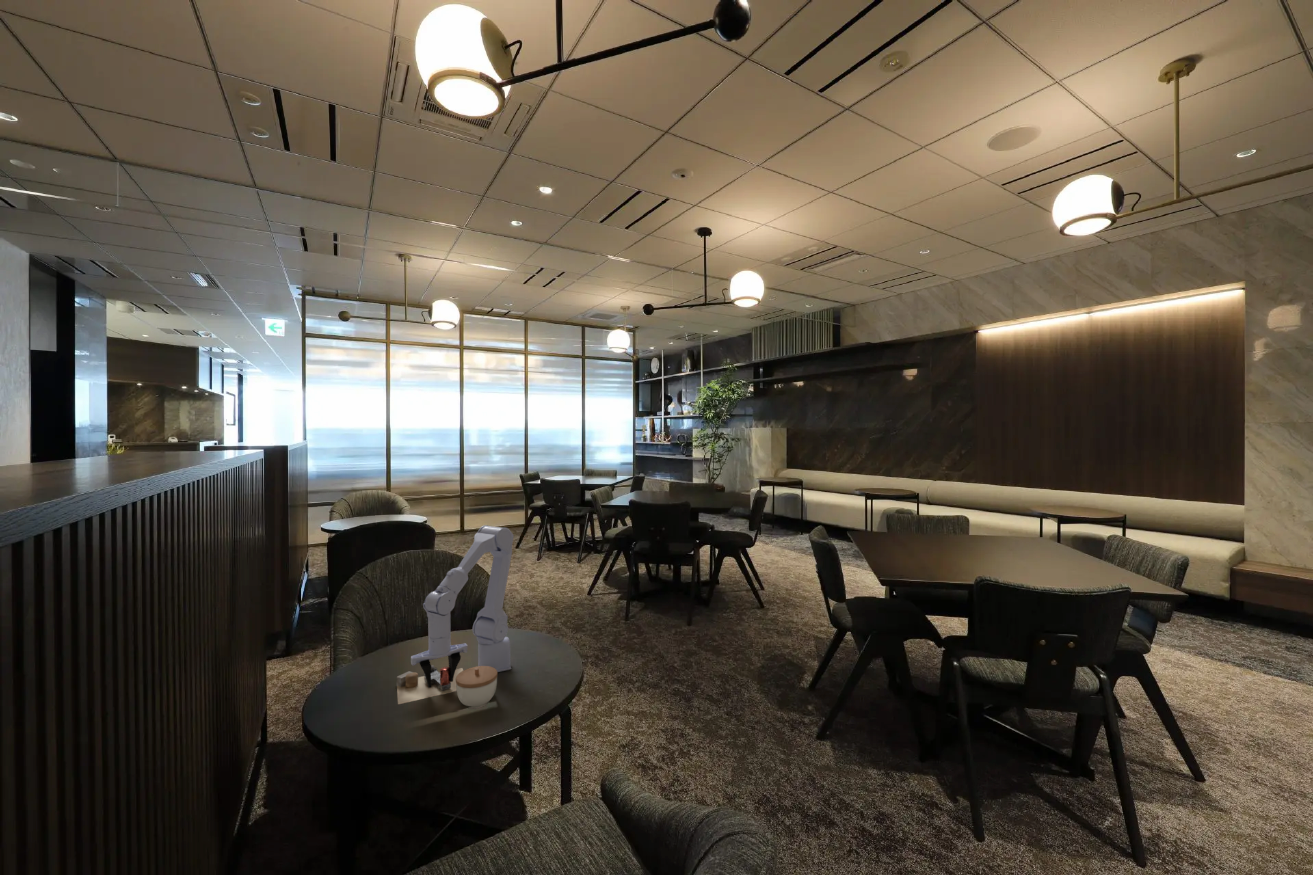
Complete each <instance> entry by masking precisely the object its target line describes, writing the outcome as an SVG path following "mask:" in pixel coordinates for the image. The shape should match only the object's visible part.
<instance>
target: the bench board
mask: <svg viewBox="0 0 1313 875" xmlns="http://www.w3.org/2000/svg"><path fill="white" fill-rule="evenodd" d="M434 667H435V665H434V664H431V670H434ZM462 671H464V669H463V667H460V668H456V670H455V673H454V678H453V682H450V683H451V688H450V689H447V690H444V691H442V690H440V689H439V688H438V687H437V686H436V685H435V684H432V685H431V688H428V686H427V684H426V683H425V677H424V675H423V676H418V685H417V686H416V687H414V688H406V675H407V674H409V673H413V671H406V672H404V673H402V674H400V675H398V676H396V690H397V693H396V694H397V706H398V705H402V704H407V703H412V702H416V701H419V700H423V699H428V698H433V697H437V696H441V695H442V696H443V695H446V694H451V693H454V692H457V690H456V676H457V675H458V674H459V673H460V672H462Z"/></svg>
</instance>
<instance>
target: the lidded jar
mask: <svg viewBox="0 0 1313 875" xmlns="http://www.w3.org/2000/svg"><path fill="white" fill-rule="evenodd" d="M497 685H498V672H497V670H496V669H495V668H493V667H490V666H478V665H477V666H473V667H469V668H465V669H463V671H462V672H460V673H459V674H458V675H457V676H456V690H457V691H456V695H457V697H458V700H459V701H460V703H461V704H462V705H464V706H466V707H467V709H470V710H476V709H480V708H481V709H482V708H484V707H485V706H487V705H488V704H489V702H490V700H492V698H493V697H494V695H495V693H496V691H497Z"/></svg>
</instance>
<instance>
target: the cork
mask: <svg viewBox="0 0 1313 875" xmlns="http://www.w3.org/2000/svg"><path fill="white" fill-rule="evenodd" d="M412 672H413V671H412ZM418 677H419V674H418V672H413V673H409V674H407V675H406V688H414V687H416V686H417V685H418Z"/></svg>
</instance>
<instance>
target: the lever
mask: <svg viewBox="0 0 1313 875" xmlns="http://www.w3.org/2000/svg"><path fill="white" fill-rule="evenodd" d="M423 676H424V677H425V674H424V673H423ZM425 683H426V684H427V680H426V677H425ZM432 684H435V685H436V686H437V687H438V688H439V689H440V690H442V691H444V690H447V689H450V688H451V683H450V667H449V666H444V667H441V668H440V669H439V671H438V668H437V667H435V666H434V670H431V685H432Z"/></svg>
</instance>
